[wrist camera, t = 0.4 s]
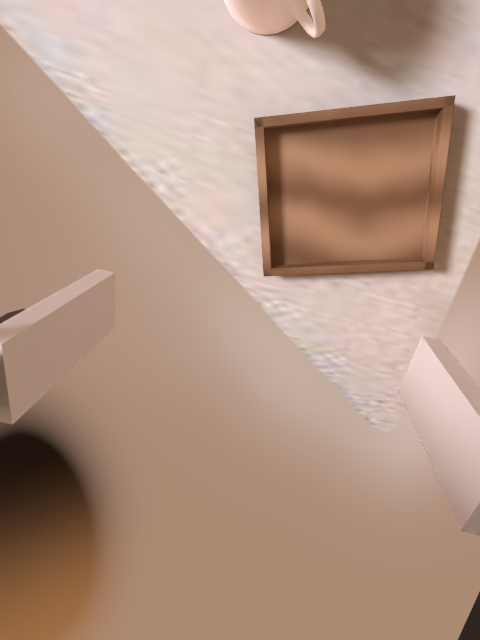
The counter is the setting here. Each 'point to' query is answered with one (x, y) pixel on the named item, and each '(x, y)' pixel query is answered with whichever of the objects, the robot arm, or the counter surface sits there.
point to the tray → (352, 187)
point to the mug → (277, 15)
